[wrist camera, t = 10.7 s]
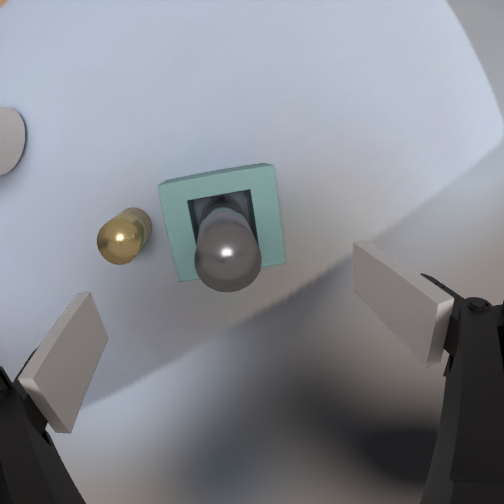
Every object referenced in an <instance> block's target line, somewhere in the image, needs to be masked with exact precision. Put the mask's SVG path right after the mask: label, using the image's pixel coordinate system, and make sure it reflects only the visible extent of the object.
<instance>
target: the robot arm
mask: <svg viewBox="0 0 504 504" xmlns="http://www.w3.org/2000/svg"><path fill="white" fill-rule="evenodd" d="M353 245H354V292H355V293H356V294H357V295H358V296H359V297H360V298H361V299H362V301H363V302H364V303H365V304H366V305H367V306H368V307H369V308H370V309H371V310H372V311H373V312H374V313H375V314H376V315H377V316H378V317H379V319H381V321H382V322H383V323H384V324H385V325H386V326H387V327H388V328H389V329H390V330H391V331H392V332H393V334H394V335H395V336H396V337H397V338H398V339H399V340H400V341H401V342H402V343H403V344H404V345H405V347H407V349H408V350H409V351H410V352H411V353H412V354H413V355H414V357H415V358H416V359H417V360H418V361H419V362H420V363H421V364H422V365H423V367H424V368H427V367H429V366H432V365H434V364H436V363H438V362H440V361H441V357H442V353H443V350H444V349H445V350H446V351H447V352H448V353H449V358H448V361H447V365H446V368H445V372H444V375H443V376H445V377H446V383H445V392H444V400H443V407H442V413H441V420H440V426H439V431H438V436H437V441H436V446H435V450H434V455H433V459H432V463H431V468H430V471H429V475H428V479H427V482H426V486H425V489H424V492H423V495H422V499H421V502H420V504H504V302H503V304H502V305H496V306H492V305H491V304H490V303H489V302H488V301H487V300H484V299H482V298H477V297H470V298H467V299H464V298H462V297H461V296H459V295H458V294H457V293H455V292H454V291H452V290H451V289H449V288H448V287H446V286H445V285H443V284H442V283H440V282H439V281H437V280H436V279H434V278H433V277H431V276H428V275H425V274H419V273H417V272H416V271H414V270H413V269H411V268H410V267H408V266H407V265H405V264H404V263H402V262H401V261H399V260H398V259H396V258H395V257H393V256H391V255H390V254H389V253H387V252H385V251H384V250H382V249H381V248H379V247H377V246H376V245H374V244H373V243H371V242H370V241H368V240H363V241H358V242H353ZM107 341H108V335H107V333H106V331H105V328H104V326H103V323H102V321H101V318H100V316H99V313H98V311H97V308H96V306H95V303H94V300H93V298H92V295H91V292H85V293H79V294H77V295H76V297H75V298H74V299H73V301H72V302H71V303H70V305H69V306H68V307H67V308H66V310H65V311H64V312H63V314H62V315H61V316H60V318H59V319H58V320H57V322H56V323H55V325H54V326H53V327H52V329H51V330H50V331H49V333H48V334H47V336H46V337H45V339H44V340H43V341H42V343H41V344H40V346H39V347H38V348H37V349H36V350H35V351H33V353H32V354H31V356H30V357H29V358H28V361H26V363H25V364H24V367H22V369H21V371H20V372H19V374H18V375H17V377H16V378H15V380H14V382H13V383H12V382H11V380H10V379H9V377H8V376H7V374H6V372H5V371H4V369H3V367H1V366H0V504H86V503H85V501H84V500H83V498H82V496H81V494H80V493H79V491H78V489H77V488H76V486H75V484H74V483H73V481H72V479H71V477H70V475H69V473H68V472H67V470H66V468H65V466H64V464H63V462H62V460H61V458H60V456H59V454H58V452H57V450H56V448H55V446H54V443H53V441H52V439H51V437H50V435H49V434H48V432H47V431H46V430H45V427H46V425H47V423H49V424H50V426H51V427H52V428H53V429H54V431H55V432H57V433H71V432H72V429H73V426H74V423H75V420H76V418H77V415H78V412H79V409H80V407H81V404H82V401H83V399H84V396H85V394H86V391H87V388H88V386H89V383H90V381H91V378H92V376H93V373H94V371H95V369H96V366H97V364H98V361H99V359H100V357H101V354H102V352H103V350H104V347H105V345H106V343H107Z"/></svg>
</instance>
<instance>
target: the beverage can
mask: <svg viewBox="0 0 504 504" xmlns="http://www.w3.org/2000/svg"><path fill="white" fill-rule="evenodd" d="M24 143H25V127H24V123H23V120H22V118H21V116H20V114H19V113H18V112H17V111H16V110H14V109H12V108H6V107H0V175H3V174H6V173H8V172H9V171H11V170H12V169H13V168H14V167H15V165H16V164H17V162H18V161H19V159H20V157H21V154H22V152H23V148H24Z"/></svg>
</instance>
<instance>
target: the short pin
mask: <svg viewBox="0 0 504 504" xmlns="http://www.w3.org/2000/svg"><path fill="white" fill-rule="evenodd" d="M151 231H152V223H151V220H150V218H149V216H148V215H147V214H146V213H145V212H144V211H143V210H141V209H138V208H128V209H126V210H124V211H123V212H121V213H120V214H118V215H117V216H116V217H114V218H113V219H112V220H110V221H109V222H108V223H106V224H105V225H104V226H103V227H102V228H101V229H100V231H99V233H98V236H97V245H98V249H99V251H100V253H101V255H102V256H103V257H104V258H105V259H106V260H107V261H109V262H111V263H113V264H118V265H122V264H126V263H129V262H130V261H132V260H133V259H134V258H135V256H136V255H137V253H138V252H139V250H140V249H141V247H142V246H143V245H144V243H145V242H146V240H147V239H148V238H149V236H150V234H151Z"/></svg>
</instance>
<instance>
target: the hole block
mask: <svg viewBox="0 0 504 504" xmlns="http://www.w3.org/2000/svg"><path fill="white" fill-rule="evenodd" d="M158 190H159V195H160V200H161V205H162V210H163V214H164V219H165V224H166V228H167V232H168V237H169V241H170V245H171V250H172V254H173V258H174V262H175V266H176V270H177V274H178V278H179V282H183V281H189V280H195V279H200V278H199V276H198V274H197V272H196V269H195V265H194V257H195V251H196V245H197V240H198V234H199V230H198V225H197V220H196V215H195V210H194V205H193V199H197V198H203V197H208V196H214V195H219V194H225V193H231V192H236V191H242V190H246V193H247V200H248V206H249V212H250V219H251V225H252V232H253V235H254V237H255V240H256V242H257V244H258V246H259V249H260V251H261V256H262V264H261V268H262V267H267V266H272V265H278V264H283V263H286V258H285V249H284V241H283V233H282V225H281V217H280V209H279V201H278V194H277V186H276V179H275V172H274V165H271V164H267V163H260V164H253V165H247V166H241V167H234V168H228V169H223V170H217V171H211V172H206V173H200V174H195V175H190V176H185V177H180V178H175V179H170V180H166V181H165V182H163V183H161V184H160V185H158Z"/></svg>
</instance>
